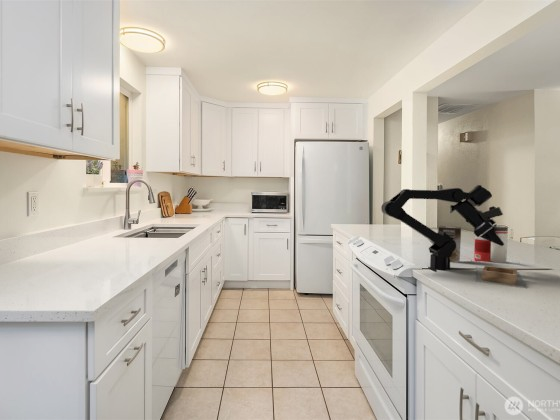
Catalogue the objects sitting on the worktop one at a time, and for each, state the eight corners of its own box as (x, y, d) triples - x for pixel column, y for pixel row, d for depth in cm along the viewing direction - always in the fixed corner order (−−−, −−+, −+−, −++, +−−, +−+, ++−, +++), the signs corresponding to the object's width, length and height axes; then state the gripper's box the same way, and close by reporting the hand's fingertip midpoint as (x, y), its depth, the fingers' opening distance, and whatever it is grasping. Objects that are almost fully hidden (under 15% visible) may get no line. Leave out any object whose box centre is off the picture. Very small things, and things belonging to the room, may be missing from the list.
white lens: (497, 262, 115) (499, 227, 114) (486, 259, 120) (488, 226, 119) (510, 262, 115) (511, 227, 114) (498, 259, 120) (500, 226, 119)
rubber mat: (527, 290, 99) (527, 288, 99) (475, 283, 107) (475, 281, 107) (518, 274, 120) (518, 272, 120) (475, 269, 127) (475, 267, 127)
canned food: (494, 264, 136) (495, 239, 135) (473, 262, 140) (474, 238, 140) (495, 261, 142) (496, 237, 141) (474, 259, 146) (475, 236, 146)
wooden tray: (481, 280, 108) (482, 270, 108) (484, 274, 116) (485, 265, 115) (516, 285, 102) (516, 275, 102) (516, 279, 110) (517, 269, 110)
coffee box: (436, 262, 140) (437, 227, 139) (437, 259, 145) (438, 225, 144) (459, 264, 135) (460, 228, 134) (460, 262, 140) (461, 226, 139)
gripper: (485, 200, 111) (523, 233, 105) (490, 198, 126) (523, 227, 119) (460, 220, 116) (494, 253, 110) (467, 217, 131) (497, 245, 125)
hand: (503, 244), depth 116 cm, fingers closed on white lens, 5 cm apart
